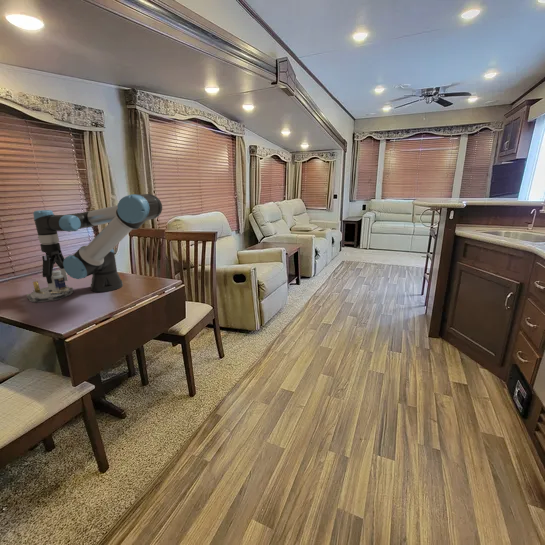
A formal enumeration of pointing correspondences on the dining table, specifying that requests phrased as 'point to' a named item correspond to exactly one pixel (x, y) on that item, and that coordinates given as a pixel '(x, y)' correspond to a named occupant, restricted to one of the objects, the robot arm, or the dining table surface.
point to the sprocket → (47, 293)
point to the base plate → (51, 300)
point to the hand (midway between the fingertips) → (59, 284)
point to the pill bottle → (59, 281)
